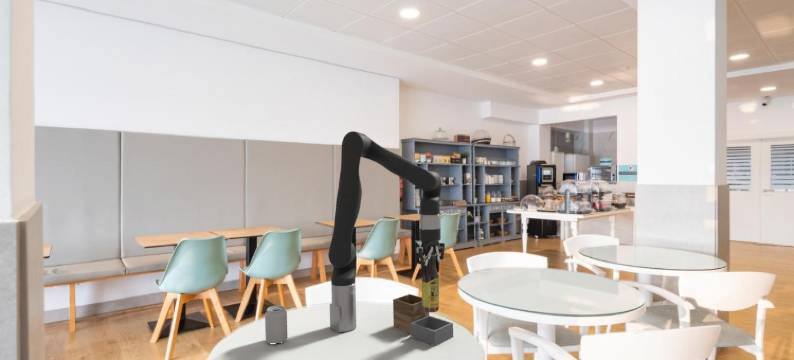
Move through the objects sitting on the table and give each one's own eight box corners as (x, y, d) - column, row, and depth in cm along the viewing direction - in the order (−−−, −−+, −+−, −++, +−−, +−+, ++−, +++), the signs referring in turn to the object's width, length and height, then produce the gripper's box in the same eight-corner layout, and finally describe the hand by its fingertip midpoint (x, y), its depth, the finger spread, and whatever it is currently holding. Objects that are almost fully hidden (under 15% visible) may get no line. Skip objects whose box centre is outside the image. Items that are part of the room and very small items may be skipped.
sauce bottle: (433, 314, 137) (432, 257, 136) (418, 311, 140) (417, 255, 140) (443, 309, 142) (442, 254, 141) (428, 305, 146) (427, 252, 145)
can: (267, 347, 136) (266, 312, 135) (264, 339, 142) (263, 306, 142) (289, 342, 139) (288, 308, 139) (285, 335, 146) (284, 303, 145)
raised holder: (413, 333, 144) (412, 305, 144) (393, 326, 152) (393, 299, 151) (429, 326, 151) (428, 299, 151) (410, 320, 158) (409, 294, 158)
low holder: (434, 346, 134) (434, 331, 134) (410, 336, 142) (410, 323, 142) (453, 336, 141) (452, 323, 141) (429, 328, 149) (429, 315, 149)
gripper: (434, 224, 148) (435, 268, 149) (408, 228, 138) (409, 276, 139) (450, 225, 143) (451, 272, 143) (424, 230, 133) (425, 279, 133)
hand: (430, 273), depth 141 cm, fingers closed on sauce bottle, 5 cm apart
